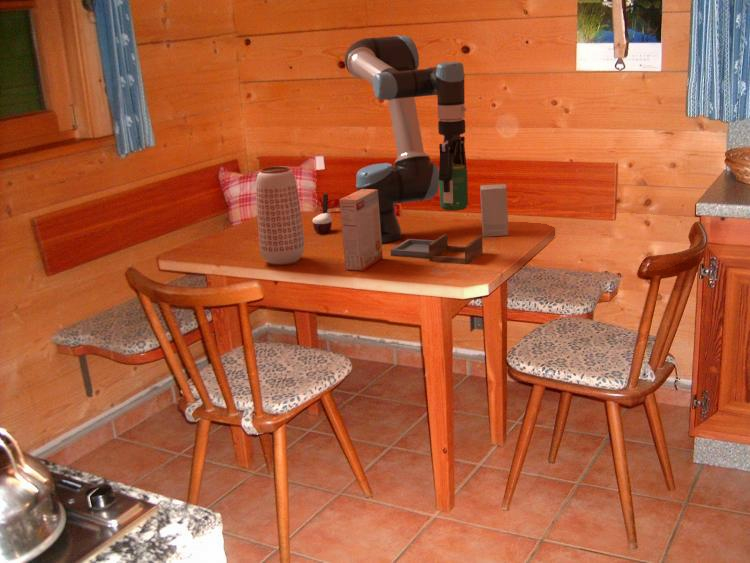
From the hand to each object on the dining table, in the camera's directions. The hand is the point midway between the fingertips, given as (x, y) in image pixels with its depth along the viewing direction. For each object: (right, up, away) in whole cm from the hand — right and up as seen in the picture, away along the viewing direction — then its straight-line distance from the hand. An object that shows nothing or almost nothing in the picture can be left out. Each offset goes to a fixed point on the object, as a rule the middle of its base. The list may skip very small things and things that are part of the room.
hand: (453, 199), depth 246 cm
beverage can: (0, -3, +1) cm, 3 cm away
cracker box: (-26, -19, +4) cm, 32 cm away
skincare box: (+16, -9, +27) cm, 32 cm away
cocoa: (-40, -7, +44) cm, 60 cm away
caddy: (+1, -16, +5) cm, 17 cm away
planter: (-50, -18, +11) cm, 54 cm away
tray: (-9, -14, +13) cm, 21 cm away
